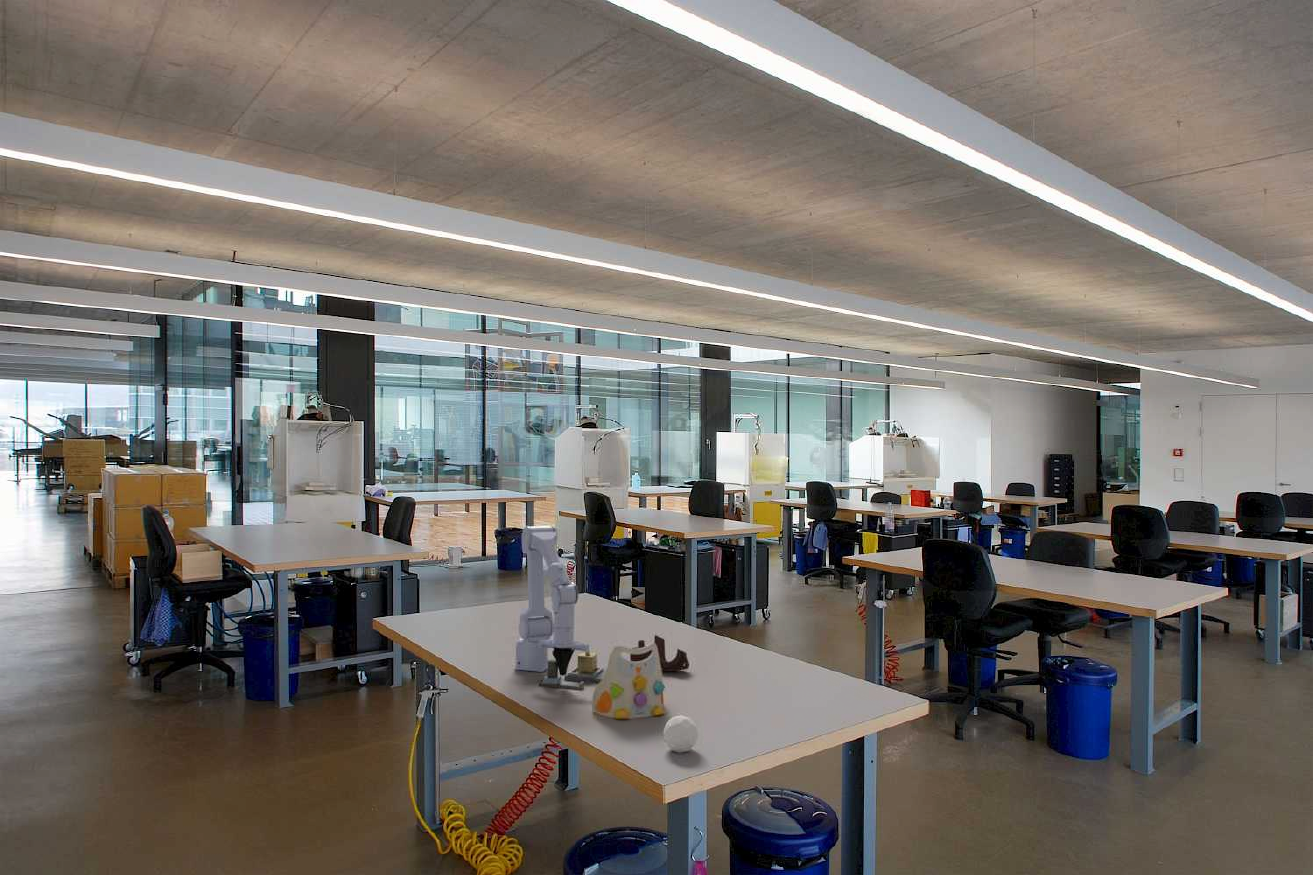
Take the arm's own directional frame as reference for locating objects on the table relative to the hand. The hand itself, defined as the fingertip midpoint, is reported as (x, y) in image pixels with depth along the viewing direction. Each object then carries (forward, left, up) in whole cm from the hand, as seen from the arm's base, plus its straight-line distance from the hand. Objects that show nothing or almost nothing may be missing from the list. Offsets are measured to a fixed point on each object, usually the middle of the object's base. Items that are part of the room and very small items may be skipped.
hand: (563, 674), depth 226 cm
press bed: (+5, +11, -3) cm, 13 cm away
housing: (+3, +11, -2) cm, 12 cm away
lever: (-3, 0, -3) cm, 5 cm away
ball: (+43, -38, -4) cm, 57 cm away
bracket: (+22, +26, -4) cm, 35 cm away
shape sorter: (+26, -15, -4) cm, 30 cm away
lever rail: (-1, 0, -3) cm, 3 cm away
